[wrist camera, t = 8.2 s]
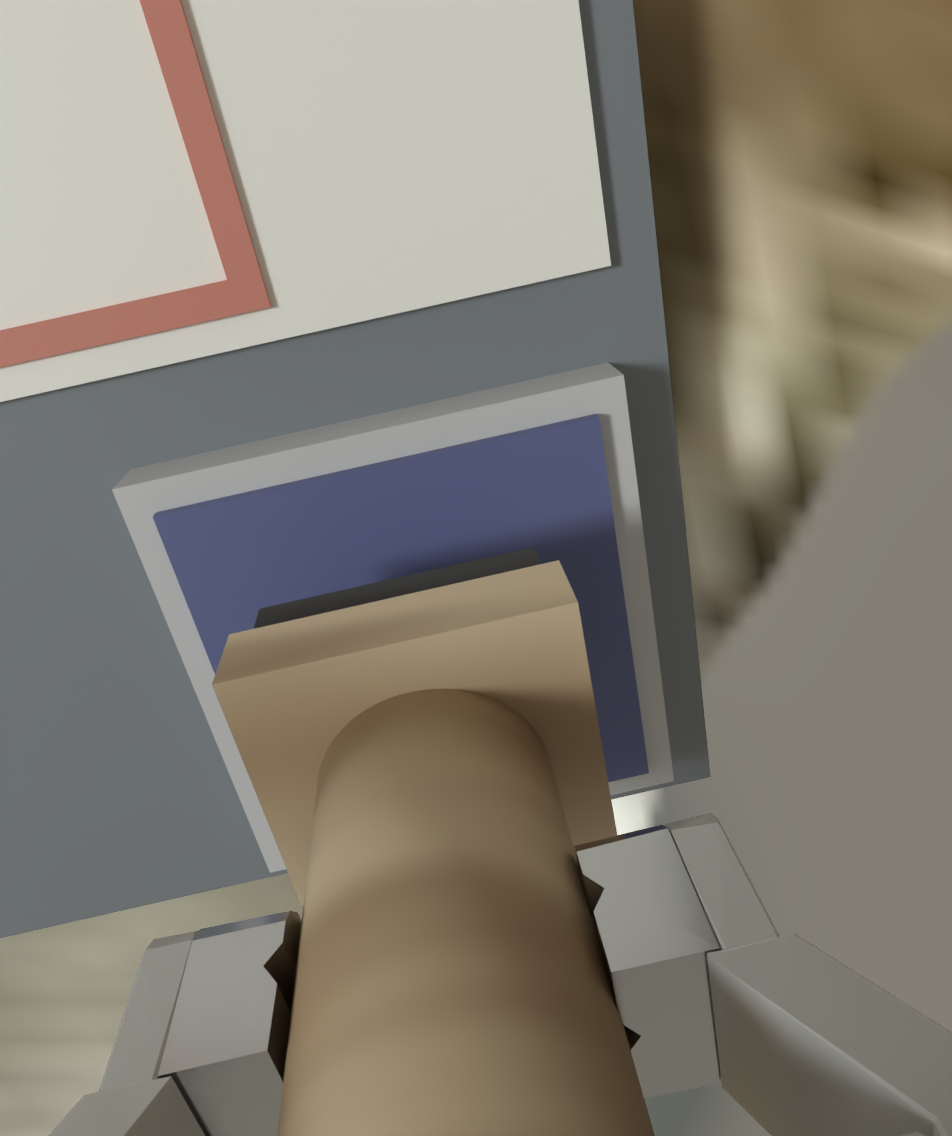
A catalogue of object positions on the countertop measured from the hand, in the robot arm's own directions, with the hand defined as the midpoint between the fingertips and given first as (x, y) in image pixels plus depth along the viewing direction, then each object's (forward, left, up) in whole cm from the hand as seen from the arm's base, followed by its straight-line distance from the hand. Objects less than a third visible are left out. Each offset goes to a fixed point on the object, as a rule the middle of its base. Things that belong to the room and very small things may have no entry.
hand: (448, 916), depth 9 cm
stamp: (0, 0, -4) cm, 4 cm away
